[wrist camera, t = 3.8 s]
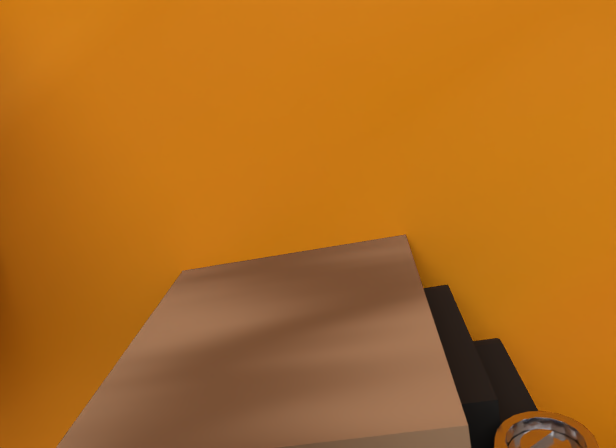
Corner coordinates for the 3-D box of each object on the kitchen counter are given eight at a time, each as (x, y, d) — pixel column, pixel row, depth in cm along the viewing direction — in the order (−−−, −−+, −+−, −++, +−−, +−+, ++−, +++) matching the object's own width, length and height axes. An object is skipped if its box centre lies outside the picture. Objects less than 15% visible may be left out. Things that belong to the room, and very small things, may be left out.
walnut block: (405, 234, 11) (468, 424, 6) (434, 426, 13) (506, 731, 7) (182, 270, 12) (35, 475, 6) (235, 450, 13) (155, 747, 8)
